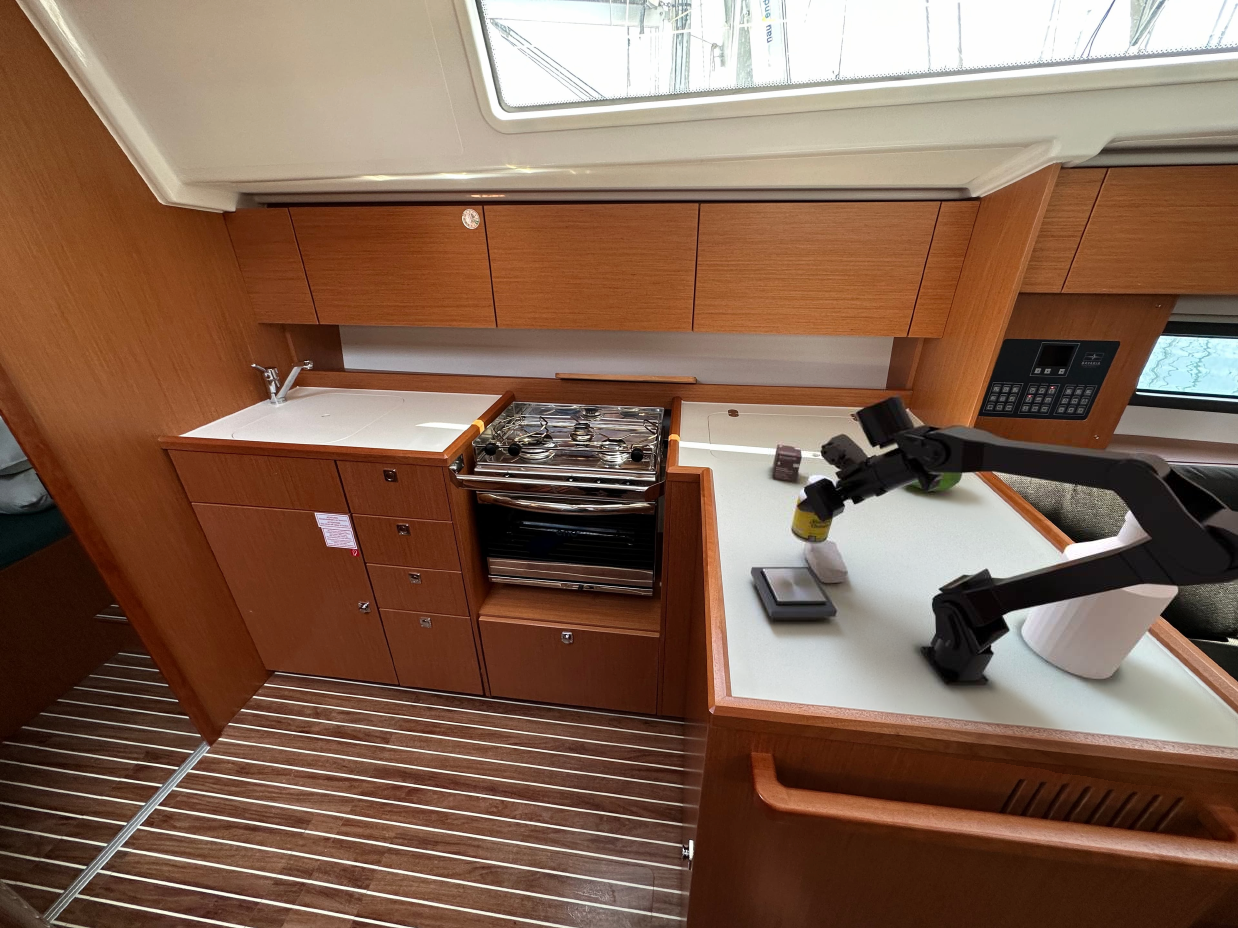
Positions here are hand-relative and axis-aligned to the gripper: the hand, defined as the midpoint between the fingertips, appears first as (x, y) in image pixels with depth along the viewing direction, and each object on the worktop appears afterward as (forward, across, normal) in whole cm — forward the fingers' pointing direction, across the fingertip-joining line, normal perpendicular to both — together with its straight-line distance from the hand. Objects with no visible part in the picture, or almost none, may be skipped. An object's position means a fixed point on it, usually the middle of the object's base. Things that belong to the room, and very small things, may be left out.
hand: (809, 502), depth 86 cm
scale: (+5, +11, +14) cm, 18 cm away
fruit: (+9, -53, +10) cm, 55 cm away
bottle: (-17, -17, +37) cm, 44 cm away
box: (+26, -28, -7) cm, 39 cm away
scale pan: (+3, +11, +12) cm, 17 cm away
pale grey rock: (+7, -2, +13) cm, 14 cm away
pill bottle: (+4, 0, +6) cm, 7 cm away
